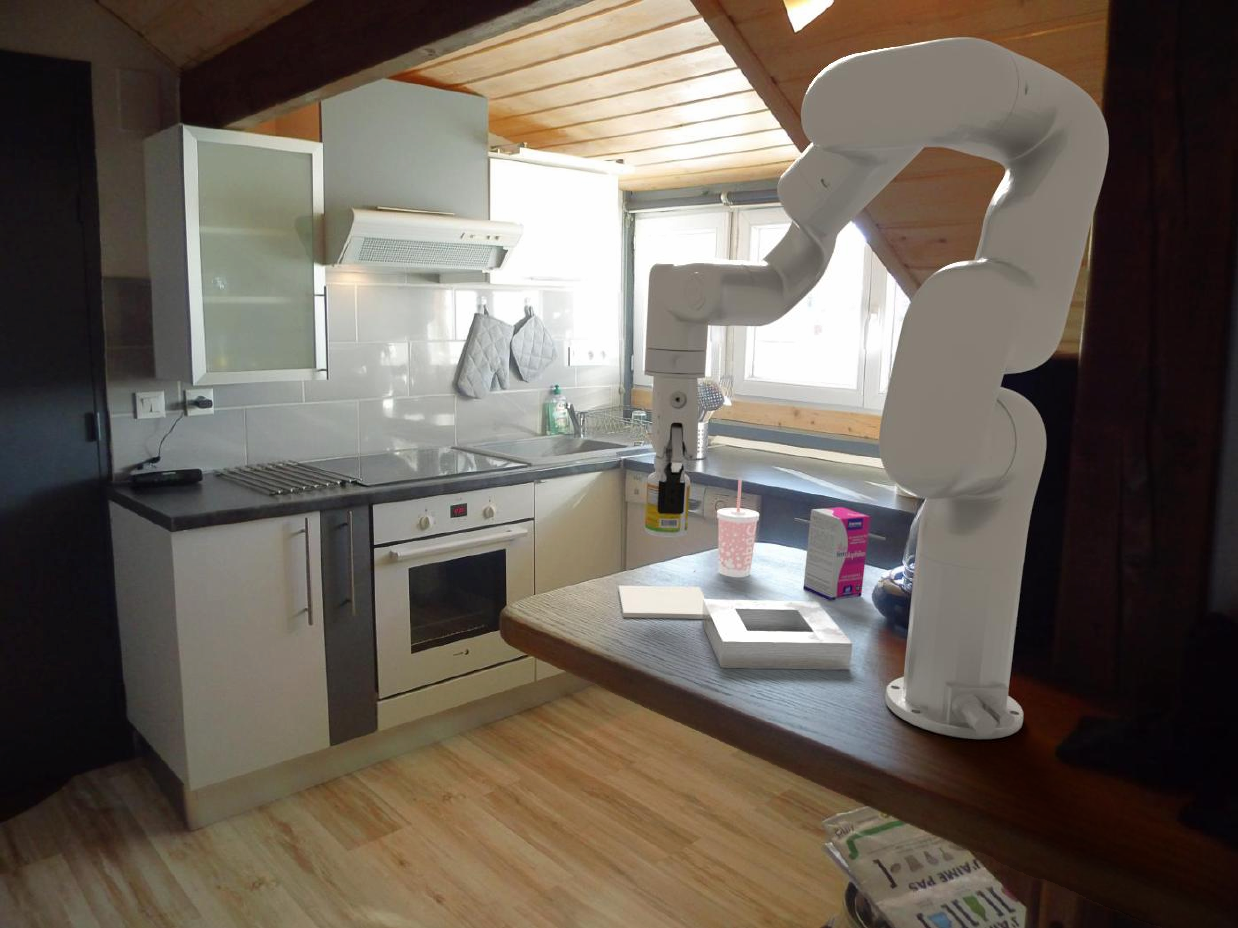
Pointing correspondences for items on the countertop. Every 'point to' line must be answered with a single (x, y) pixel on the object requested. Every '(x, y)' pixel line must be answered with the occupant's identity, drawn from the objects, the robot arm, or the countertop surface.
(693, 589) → the plastic mat
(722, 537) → the beverage cup
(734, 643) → the concrete holder
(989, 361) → the robot arm
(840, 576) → the supplement box
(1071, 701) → the countertop surface
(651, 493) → the supplement bottle
